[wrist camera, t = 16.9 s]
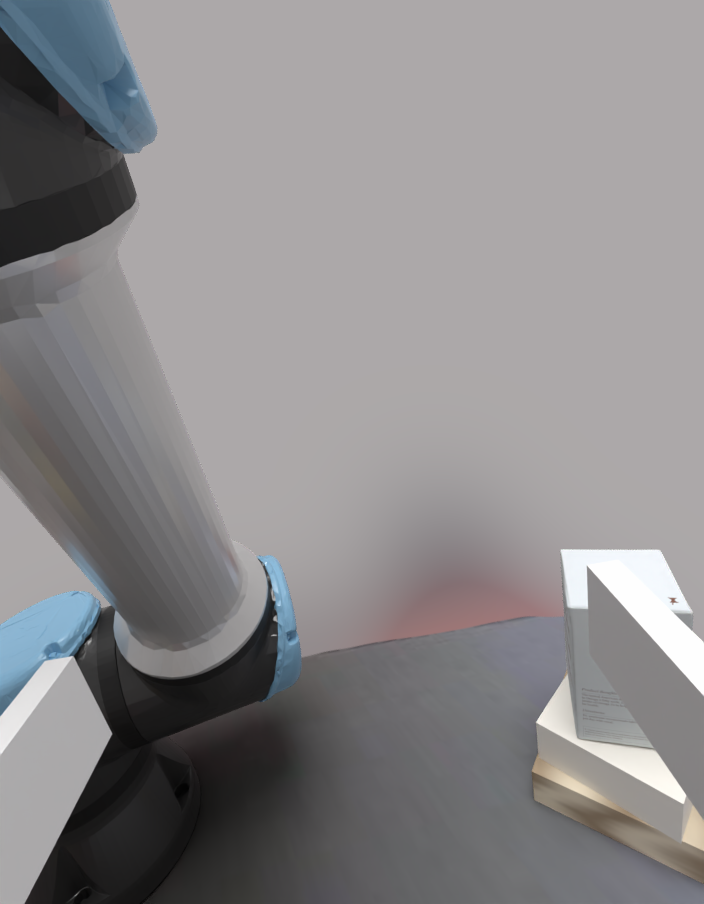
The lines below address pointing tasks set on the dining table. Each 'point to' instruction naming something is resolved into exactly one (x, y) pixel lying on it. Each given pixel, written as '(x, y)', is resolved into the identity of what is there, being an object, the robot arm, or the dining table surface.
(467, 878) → the dining table surface
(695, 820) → the tower base block
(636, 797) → the tower top block
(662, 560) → the supplement box
